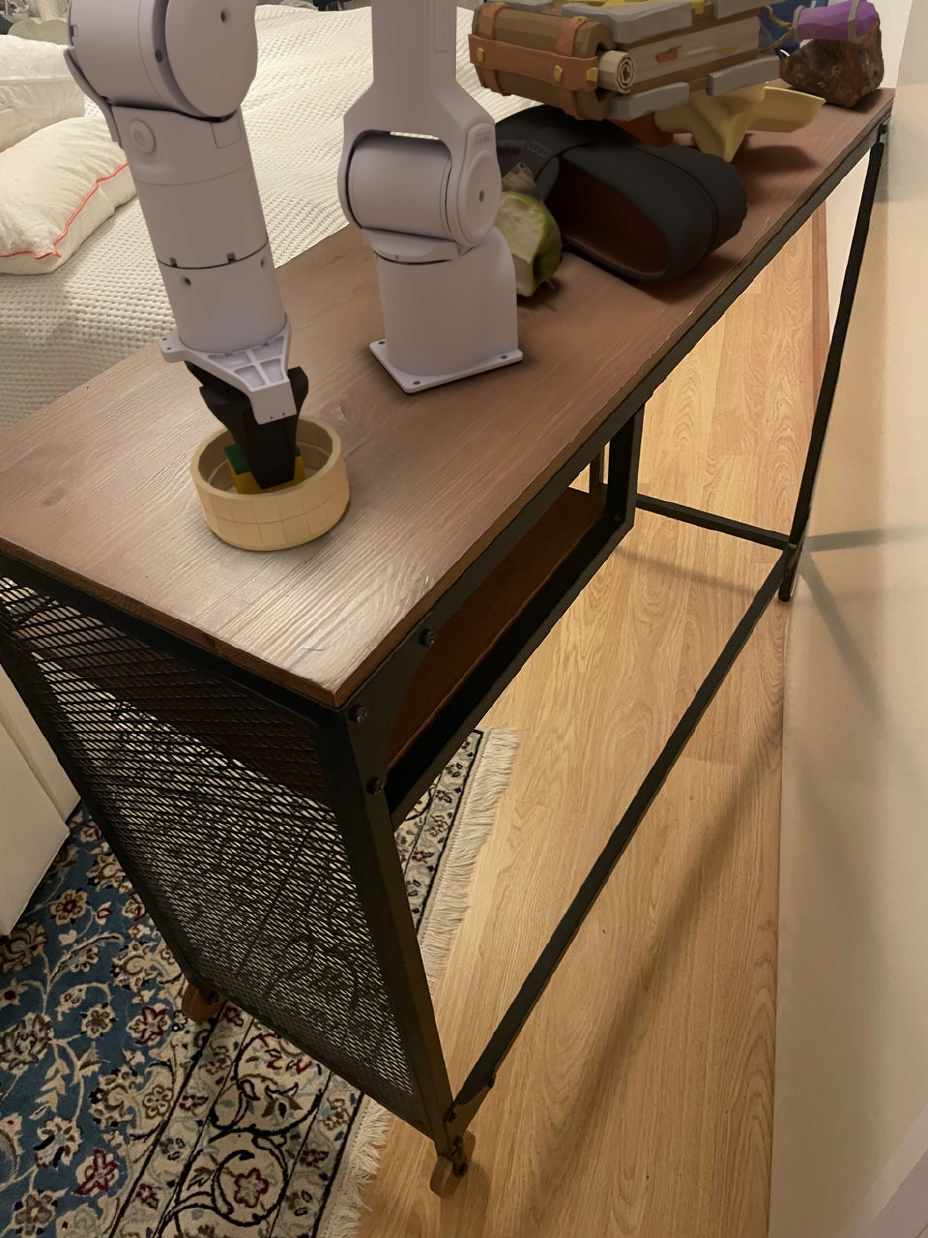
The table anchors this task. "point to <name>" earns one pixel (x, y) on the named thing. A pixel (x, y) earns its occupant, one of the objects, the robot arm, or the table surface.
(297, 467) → the sponge
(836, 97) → the rock
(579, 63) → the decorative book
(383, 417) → the table surface
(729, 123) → the beige curved piece
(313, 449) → the bowl
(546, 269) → the fruit
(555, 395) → the table surface
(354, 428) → the table surface
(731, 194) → the loafer
